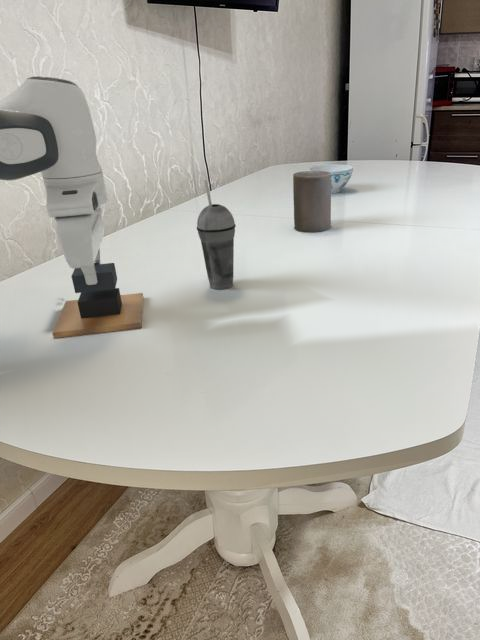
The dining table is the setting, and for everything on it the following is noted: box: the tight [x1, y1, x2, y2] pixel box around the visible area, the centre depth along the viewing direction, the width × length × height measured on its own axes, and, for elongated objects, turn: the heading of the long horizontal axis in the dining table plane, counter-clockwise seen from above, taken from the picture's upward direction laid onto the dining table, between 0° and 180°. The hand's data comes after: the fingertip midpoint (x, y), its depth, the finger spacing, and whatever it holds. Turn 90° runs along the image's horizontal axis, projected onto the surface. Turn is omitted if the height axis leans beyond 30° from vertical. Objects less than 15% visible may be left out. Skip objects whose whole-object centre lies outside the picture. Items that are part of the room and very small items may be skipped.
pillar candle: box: [292, 168, 332, 233], centre depth 134 cm, size 10×10×15 cm
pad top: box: [71, 262, 118, 294], centre depth 88 cm, size 6×5×3 cm
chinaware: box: [307, 164, 354, 194], centre depth 177 cm, size 15×15×8 cm
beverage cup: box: [196, 179, 237, 291], centre depth 98 cm, size 7×7×20 cm
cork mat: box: [52, 292, 145, 339], centre depth 91 cm, size 14×14×1 cm
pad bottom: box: [77, 287, 122, 319], centre depth 91 cm, size 6×5×3 cm
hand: (94, 277), depth 88 cm, fingers closed on pad top, 5 cm apart
